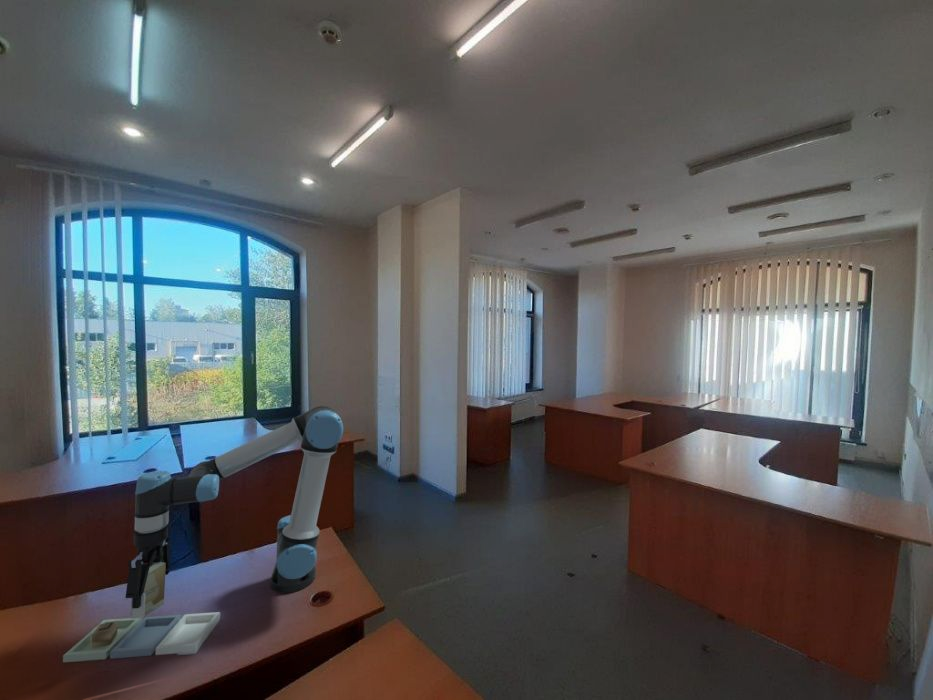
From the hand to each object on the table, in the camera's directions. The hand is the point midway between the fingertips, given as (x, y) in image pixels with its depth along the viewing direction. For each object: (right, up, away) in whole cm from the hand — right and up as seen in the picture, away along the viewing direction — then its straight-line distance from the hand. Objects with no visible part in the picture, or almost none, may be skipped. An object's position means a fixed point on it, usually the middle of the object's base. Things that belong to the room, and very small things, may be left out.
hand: (148, 607), depth 106 cm
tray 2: (0, -9, 0) cm, 9 cm away
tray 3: (+11, -10, +2) cm, 15 cm away
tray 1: (-11, -9, -2) cm, 14 cm away
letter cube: (-11, -8, -2) cm, 14 cm away
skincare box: (0, -1, 0) cm, 1 cm away
